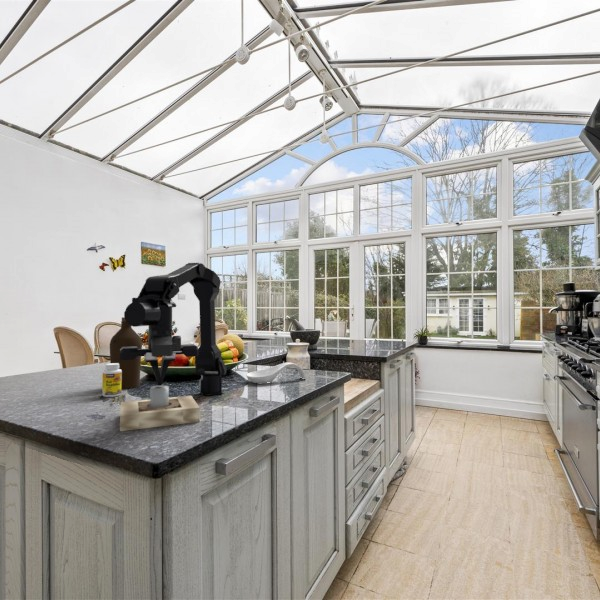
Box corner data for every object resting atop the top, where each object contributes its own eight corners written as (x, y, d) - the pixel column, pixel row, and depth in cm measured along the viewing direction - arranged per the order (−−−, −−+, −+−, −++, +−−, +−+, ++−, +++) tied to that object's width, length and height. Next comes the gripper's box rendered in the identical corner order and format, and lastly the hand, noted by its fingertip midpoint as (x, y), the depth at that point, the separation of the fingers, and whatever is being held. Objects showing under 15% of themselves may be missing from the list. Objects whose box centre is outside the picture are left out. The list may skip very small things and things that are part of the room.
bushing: (167, 415, 99) (167, 384, 99) (169, 419, 95) (169, 387, 95) (149, 417, 97) (149, 385, 97) (150, 421, 93) (150, 389, 93)
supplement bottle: (103, 398, 117) (103, 365, 117) (101, 394, 122) (101, 363, 122) (122, 396, 120) (123, 364, 120) (120, 392, 125) (120, 362, 125)
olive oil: (137, 389, 130) (137, 317, 130) (104, 390, 128) (105, 317, 129) (144, 383, 140) (145, 317, 141) (114, 384, 139) (115, 317, 139)
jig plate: (190, 407, 106) (191, 395, 106) (199, 421, 93) (199, 407, 93) (120, 415, 98) (121, 402, 99) (120, 431, 86) (120, 416, 86)
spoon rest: (251, 387, 135) (251, 367, 135) (242, 381, 146) (242, 363, 146) (309, 382, 145) (309, 363, 145) (297, 377, 156) (297, 360, 156)
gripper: (119, 327, 85) (118, 395, 85) (202, 325, 93) (202, 388, 93) (120, 324, 95) (119, 386, 95) (195, 323, 103) (194, 380, 103)
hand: (159, 385), depth 96 cm, fingers closed
